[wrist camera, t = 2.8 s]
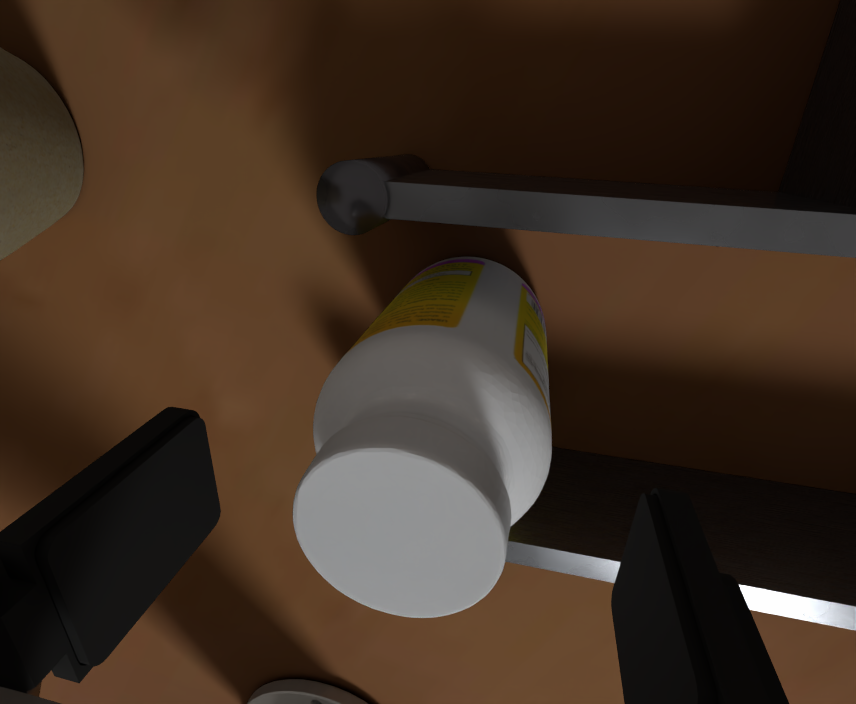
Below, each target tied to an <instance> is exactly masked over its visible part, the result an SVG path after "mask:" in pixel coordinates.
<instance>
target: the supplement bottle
mask: <svg viewBox="0 0 856 704" xmlns="http://www.w3.org/2000/svg"><path fill="white" fill-rule="evenodd" d="M313 436H314V443H315V450H316V454H317V455H316V456H315V458H314V459H313V461H312V463H311V464H310V466H309V467H308V469H307V470H306V472H305V474H304V475H303V477H302V478H301V480H300V482H299V485H298V487H297V490H296V494H295V498H294V503H293V523H294V529H295V532H296V536H297V539H298V542H299V544H300V546H301V548H302V550H303V552H304V554H305V555H306V557H307V558H308V560H309V561H310V562H311V564H312V565H313V566H314V568H315V569H316V570H317V571H318V572H319V573H320V574H321V575H322V577H323V578H325V579H326V580H327V581H328V582H329V583H330V584H331V585H332V586H334V587H335V588H336V589H337V590H339V591H340V592H342V593H343V594H345V595H346V596H348V597H350V598H351V599H353V600H355V601H357V602H359V603H361V604H363V605H365V606H368V607H370V608H372V609H376V610H379V611H382V612H385V613H390V614H394V615H398V616H405V617H412V618H430V617H439V616H445V615H449V614H452V613H456V612H459V611H462V610H464V609H466V608H469V607H470V606H472V605H474V604H475V603H477V602H478V601H480V600H481V599H482V598H483V597H485V596H486V595H487V594H488V593H489V592H490V591H491V589H492V588H493V587H494V585H495V584H496V582H497V581H498V579H499V577H500V575H501V573H502V571H503V568H504V564H505V560H506V553H507V545H508V537H509V531H510V527H511V526H512V525H513V524H514V523H515V522H517V521H518V520H519V519H520V518H521V517H522V516H523V515H524V514H525V513H526V512H527V511H528V510H529V508H530V507H531V506H532V505H533V504H534V502H535V501H536V499H537V498H538V496H539V494H540V492H541V490H542V488H543V486H544V484H545V481H546V479H547V476H548V473H549V468H550V462H551V455H552V430H551V416H550V399H549V377H548V359H547V338H546V326H545V321H544V316H543V312H542V309H541V306H540V304H539V302H538V300H537V298H536V296H535V294H534V293H533V291H532V290H531V288H530V287H529V286H528V285H527V283H526V282H525V281H524V280H523V279H522V278H521V277H520V276H518V275H517V274H516V273H515V272H513V271H512V270H510V269H509V268H507V267H505V266H503V265H501V264H499V263H497V262H494V261H491V260H488V259H484V258H478V257H455V258H449V259H445V260H442V261H439V262H437V263H434V264H432V265H431V266H429V267H427V268H425V269H424V270H422V271H421V272H419V273H418V274H417V275H416V276H415V277H414V278H412V279H411V280H410V281H409V283H408V284H407V285H406V286H405V287H404V288H403V289H402V290H401V291H400V293H399V294H398V295H397V296H396V297H395V298H394V299H393V301H392V302H391V303H390V304H389V305H388V306H387V307H386V308H385V310H384V311H383V312H382V313H381V314H380V315H379V316H378V317H377V318H376V320H375V321H374V322H373V323H372V324H371V325H370V327H369V328H368V329H367V330H366V331H365V332H364V334H363V335H362V336H361V337H360V338H359V339H358V341H357V342H356V343H355V344H354V345H353V346H352V347H351V348H350V349H349V351H348V352H347V353H346V354H345V355H344V356H343V357H342V358H341V360H340V361H339V362H338V364H337V365H336V366H335V367H334V369H333V370H332V371H331V373H330V374H329V376H328V378H327V379H326V381H325V383H324V385H323V387H322V390H321V392H320V395H319V398H318V400H317V404H316V408H315V414H314V422H313Z"/></svg>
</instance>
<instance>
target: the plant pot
mask: <svg viewBox="0 0 856 704" xmlns="http://www.w3.org/2000/svg"><path fill="white" fill-rule="evenodd" d="M82 181H83V156H82V149H81V144H80V140H79V137H78V134H77V130H76V128H75V125H74V122H73V120H72V118H71V116H70V114H69V112H68V110H67V108H66V107H65V105H64V103H63V102H62V100H61V99H60V97H59V96H58V94H57V93H56V91H55V90H54V89H53V88H52V87H51V85H50V84H49V83H48V82H47V80H46V79H45V78H44V77H43V76H42V75H41V74H40V73H38V72H37V71H36V70H35V69H34V68H32V67H31V66H30V65H28V64H27V63H26V62H24V61H23V60H21V59H19V58H18V57H16V56H14V55H13V54H11V53H9V52H7V51H6V50H4V49H2V48H1V47H0V260H2V259H3V258H5V257H6V256H8V255H9V254H11V253H12V252H14V251H15V250H17V249H18V248H20V247H21V246H23V245H24V244H25V243H27V242H28V241H30V240H31V239H33V238H34V237H36V236H37V235H38V234H40V233H41V232H43V231H44V230H46V229H47V228H48V227H50V226H51V225H52V224H54V223H55V222H56V221H58V220H59V219H60V218H61V217H63V216H64V215H65V214H67V212H68V211H69V210H70V209H71V208H72V207H73V206H74V204H75V202H76V200H77V198H78V196H79V194H80V190H81V187H82Z"/></svg>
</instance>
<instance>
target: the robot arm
mask: <svg viewBox="0 0 856 704" xmlns="http://www.w3.org/2000/svg"><path fill="white" fill-rule="evenodd" d="M220 512H221V511H220V503H219V498H218V492H217V487H216V481H215V476H214V470H213V465H212V459H211V454H210V448H209V443H208V437H207V432H206V426H205V422H204V421H203V419H201V418H200V417H199V414H198V413H197V412H196V411H193V410H188V409H182V408H176V407H168V408H166V409H164V410H163V411H161V412H160V413H159V414H157V415H156V416H155V417H153V418H152V419H151V420H149V421H148V422H147V423H145V424H144V425H143V426H141V427H140V428H139V429H137V430H136V431H135V432H133V433H132V434H131V435H129V436H128V437H127V438H125V439H124V440H122V441H121V442H120V443H118V444H117V445H116V446H114V447H113V448H112V449H110V450H109V451H108V452H106V453H105V454H104V455H102V456H101V457H100V458H98V459H97V460H96V461H94V462H93V463H92V464H90V465H89V466H88V467H86V468H85V469H84V470H82V471H81V472H80V473H78V474H77V475H76V476H74V477H73V478H72V479H70V480H69V481H68V482H66V483H65V484H64V485H62V486H61V487H60V488H58V489H57V490H56V491H54V492H53V493H52V494H50V495H49V496H48V497H46V498H45V499H44V500H42V501H41V502H40V503H38V504H37V505H36V506H34V507H33V508H31V509H30V510H29V511H27V512H26V513H25V514H23V515H22V516H21V517H19V518H18V519H17V520H15V521H14V522H13V523H11V524H10V525H9V526H7V527H6V528H5V529H3V530H2V531H1V532H0V704H60V703H57V702H54V701H50V700H47V699H43V698H40V697H39V694H40V688H41V682H42V680H43V679H44V678H45V676H46V675H47V674H48V673H49V672H50V671H51V670H52V672H53V674H54V676H56V677H60V678H63V679H66V680H70V681H73V682H77V683H80V682H81V681H82V679H83V678H84V677H85V676H86V675H87V673H88V672H89V671H90V670H91V669H92V667H93V666H97V665H99V664H101V663H102V662H103V661H104V660H105V659H106V658H107V657H108V656H109V655H110V654H111V652H112V651H113V650H114V649H115V648H116V646H117V645H118V644H119V643H120V642H121V640H122V639H123V638H124V637H125V635H126V634H127V633H128V632H129V631H130V629H131V628H132V627H133V626H134V624H135V623H136V622H137V621H138V620H139V618H140V617H141V616H142V615H143V614H144V612H145V611H146V610H147V609H148V607H149V606H150V605H151V604H152V603H153V601H154V600H155V599H156V598H157V596H158V595H159V594H160V593H161V592H162V590H163V589H164V588H165V587H166V585H167V584H168V583H169V582H170V581H171V579H172V578H173V577H174V576H175V575H176V573H177V572H178V571H179V570H180V568H181V567H182V566H183V565H184V564H185V562H186V561H187V560H188V559H189V557H190V556H191V555H192V554H193V553H194V551H195V550H196V549H197V548H198V547H199V545H200V544H201V543H202V542H203V540H204V539H205V538H206V537H207V536H208V534H209V533H210V532H211V531H212V529H213V528H214V527H215V526H216V524H217V522H218V520H219V517H220ZM611 606H612V615H613V622H614V630H615V637H616V644H617V651H618V659H619V666H620V673H621V680H622V687H623V695H624V702H625V704H789V702H788V700H787V697H786V695H785V693H784V690H783V688H782V685H781V683H780V681H779V678H778V676H777V674H776V671H775V669H774V667H773V664H772V662H771V659H770V657H769V655H768V652H767V650H766V648H765V645H764V643H763V640H762V638H761V636H760V633H759V631H758V629H757V626H756V624H755V622H754V619H753V617H752V614H751V612H750V610H749V607H748V605H747V603H746V600H745V598H744V596H743V593H742V591H741V588H740V586H739V585H738V583H737V581H736V579H735V578H734V577H732V576H731V575H729V574H724V573H719V571H718V568H717V566H716V563H715V560H714V558H713V555H712V553H711V550H710V548H709V545H708V542H707V540H706V537H705V535H704V532H703V530H702V527H701V524H700V522H699V519H698V517H697V514H696V512H695V509H694V507H693V504H692V501H691V499H690V497H689V495H688V494H687V493H684V492H678V491H672V490H666V489H660V488H654V489H653V490H652V491H651V494H642V495H641V496H640V499H639V502H638V506H637V509H636V512H635V516H634V519H633V522H632V526H631V529H630V533H629V536H628V539H627V543H626V546H625V550H624V553H623V556H622V560H621V563H620V567H619V570H618V573H617V577H616V580H615V584H614V587H613V591H612V600H611ZM247 704H368V703H367V702H365V701H364V700H362V699H360V698H358V697H357V696H355V695H353V694H351V693H349V692H347V691H344V690H342V689H339V688H337V687H335V686H331V685H328V684H324V683H321V682H317V681H310V680H304V679H285V680H278V681H274V682H271V683H268V684H266V685H263V686H262V687H260V688H259V689H257V690H256V691H255V692H254V693H253V694H252V696H251V697H250V699H249V701H248V703H247Z"/></svg>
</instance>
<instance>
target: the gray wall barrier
mask: <svg viewBox="0 0 856 704" xmlns="http://www.w3.org/2000/svg"><path fill="white" fill-rule="evenodd" d="M317 203H318V207H319V210H320V212H321V214H322V216H323V218H324V219H325V220H326V222H327V223H328V224H329V225H330V226H331V227H333V228H334V229H335V230H337V231H339V232H341V233H344V234H348V235H360V234H363V233H366V232H368V231H370V230H372V229H374V228H375V227H377V226H379V225H381V224H383V223H385V222H387V221H389V220H391V219H399V220H411V221H423V222H435V223H447V224H459V225H471V226H483V227H495V228H507V229H519V230H530V231H542V232H554V233H566V234H578V235H590V236H602V237H614V238H626V239H638V240H650V241H662V242H674V243H686V244H698V245H710V246H722V247H734V248H746V249H758V250H770V251H782V252H794V253H806V254H818V255H830V256H841V257H853V258H856V0H841V1H840V4H839V7H838V10H837V13H836V16H835V19H834V22H833V26H832V29H831V32H830V35H829V38H828V41H827V44H826V47H825V50H824V53H823V56H822V60H821V63H820V66H819V69H818V72H817V75H816V78H815V81H814V84H813V87H812V90H811V94H810V97H809V100H808V103H807V106H806V109H805V112H804V115H803V118H802V121H801V124H800V127H799V131H798V134H797V137H796V140H795V143H794V146H793V149H792V152H791V155H790V158H789V161H788V165H787V168H786V171H785V174H784V177H783V180H782V183H781V186H780V189H779V192H771V191H756V190H741V189H725V188H710V187H694V186H679V185H664V184H648V183H633V182H618V181H602V180H587V179H572V178H556V177H541V176H526V175H510V174H495V173H480V172H464V171H449V170H434V169H430V168H429V167H428V165H427V164H426V163H425V161H423V160H422V159H421V158H419V157H417V156H415V155H410V154H406V155H396V156H386V157H376V158H367V159H357V160H347V161H340V162H337V163H335V164H333V165H331V166H330V167H329V168H328V169H326V170H325V172H324V173H323V174H322V176H321V178H320V180H319V183H318V186H317ZM654 488H660V489H666V490H672V491H678V492H684V493H687V494H688V495H689V497H690V499H691V501H692V504H693V507H694V509H695V512H696V514H697V517H698V519H699V522H700V524H701V527H702V530H703V532H704V535H705V537H706V540H707V542H708V545H709V548H710V550H711V553H712V555H713V558H714V560H715V563H716V566H717V568H718V571H719V573H724V574H729V575H731V576H732V577H734V578H735V579H736V581H737V583H738V585H739V586H740V588H741V591H742V593H743V596H744V598H745V600H746V603H747V605H748V607H749V609H750V610H755V611H760V612H765V613H770V614H775V615H780V616H785V617H790V618H795V619H801V620H806V621H811V622H816V623H821V624H826V625H831V626H836V627H841V628H846V629H851V630H856V494H850V493H844V492H837V491H831V490H825V489H818V488H812V487H805V486H799V485H792V484H786V483H780V482H773V481H767V480H760V479H754V478H747V477H741V476H735V475H728V474H722V473H715V472H709V471H702V470H696V469H690V468H683V467H677V466H670V465H664V464H657V463H651V462H645V461H638V460H632V459H625V458H619V457H612V456H606V455H600V454H593V453H587V452H580V451H574V450H567V449H561V448H555V447H552V455H551V462H550V468H549V473H548V476H547V479H546V481H545V484H544V486H543V488H542V490H541V492H540V494H539V496H538V498H537V499H536V501H535V502H534V504H533V505H532V506H531V507H530V508H529V510H528V511H527V512H526V513H525V514H524V515H523V516H522V517H521V518H520V519H519V520H518V521H517V522H515V523H514V524H513V525H512V526H511V527H510V531H509V537H508V545H507V553H506V560H505V561H506V562H511V563H516V564H521V565H526V566H531V567H536V568H542V569H547V570H552V571H557V572H562V573H567V574H572V575H577V576H582V577H587V578H592V579H597V580H602V581H608V582H613V583H615V580H616V577H617V573H618V570H619V567H620V563H621V560H622V556H623V553H624V550H625V546H626V543H627V539H628V536H629V533H630V529H631V526H632V522H633V519H634V516H635V512H636V509H637V506H638V502H639V499H640V496H641V495H642V494H651V491H652V490H653V489H654Z"/></svg>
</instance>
